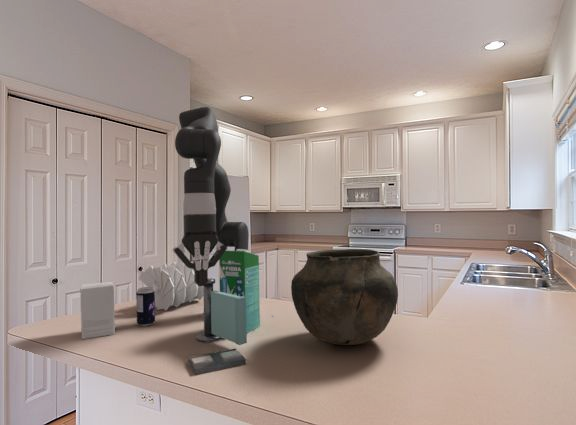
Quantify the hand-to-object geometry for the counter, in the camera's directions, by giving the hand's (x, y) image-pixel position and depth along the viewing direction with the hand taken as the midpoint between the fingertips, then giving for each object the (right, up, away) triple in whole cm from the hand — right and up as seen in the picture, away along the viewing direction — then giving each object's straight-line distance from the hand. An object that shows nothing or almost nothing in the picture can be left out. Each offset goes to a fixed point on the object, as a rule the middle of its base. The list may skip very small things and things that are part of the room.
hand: (201, 285), depth 87 cm
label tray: (+4, -19, +1) cm, 19 cm away
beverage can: (-26, -20, +34) cm, 48 cm away
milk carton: (+6, -19, +28) cm, 34 cm away
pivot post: (-2, -19, +19) cm, 27 cm away
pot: (+36, -19, +14) cm, 43 cm away
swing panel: (+4, -17, +13) cm, 22 cm away
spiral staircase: (-24, -20, +60) cm, 68 cm away
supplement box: (-38, -20, +26) cm, 50 cm away
